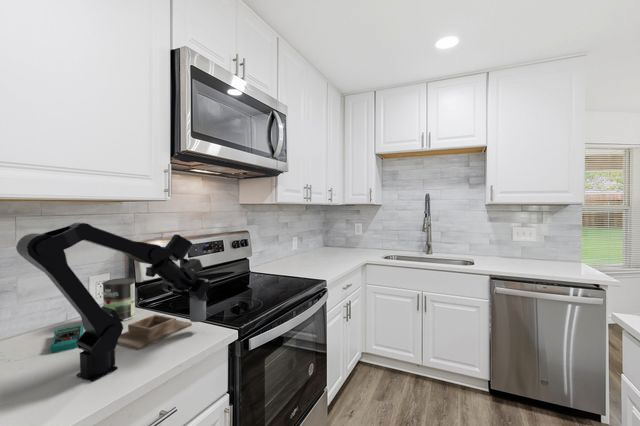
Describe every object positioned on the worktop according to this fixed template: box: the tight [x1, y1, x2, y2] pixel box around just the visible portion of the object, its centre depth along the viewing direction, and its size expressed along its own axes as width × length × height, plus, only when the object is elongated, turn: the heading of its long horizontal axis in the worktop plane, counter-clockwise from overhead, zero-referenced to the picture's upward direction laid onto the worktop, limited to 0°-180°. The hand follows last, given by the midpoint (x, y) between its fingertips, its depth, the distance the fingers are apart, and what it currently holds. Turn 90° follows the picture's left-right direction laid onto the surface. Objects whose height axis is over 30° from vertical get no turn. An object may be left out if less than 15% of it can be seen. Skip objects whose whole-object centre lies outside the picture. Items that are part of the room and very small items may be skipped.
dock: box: [116, 314, 193, 351], centre depth 104 cm, size 20×14×4 cm
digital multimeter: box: [49, 325, 84, 354], centre depth 98 cm, size 7×15×3 cm, turn 36°
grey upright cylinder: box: [189, 288, 207, 323], centre depth 105 cm, size 5×5×12 cm
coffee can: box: [102, 277, 136, 322], centre depth 118 cm, size 10×10×14 cm
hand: (201, 298), depth 106 cm, fingers closed on grey upright cylinder, 5 cm apart
